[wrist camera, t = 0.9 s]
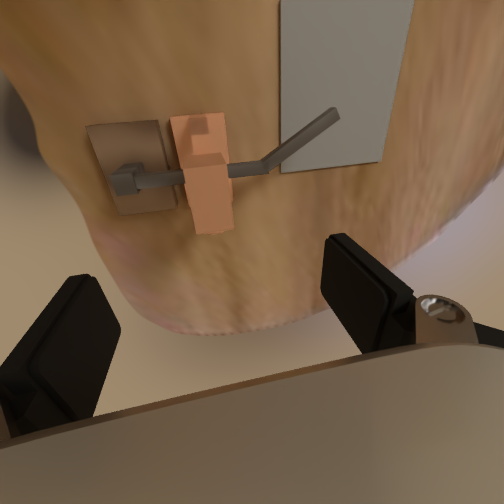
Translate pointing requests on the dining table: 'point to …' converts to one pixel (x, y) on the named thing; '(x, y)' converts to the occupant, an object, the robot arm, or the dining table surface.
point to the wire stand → (156, 165)
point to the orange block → (205, 169)
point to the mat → (340, 76)
